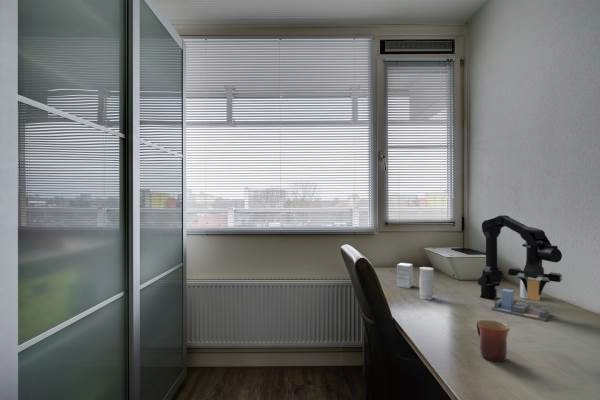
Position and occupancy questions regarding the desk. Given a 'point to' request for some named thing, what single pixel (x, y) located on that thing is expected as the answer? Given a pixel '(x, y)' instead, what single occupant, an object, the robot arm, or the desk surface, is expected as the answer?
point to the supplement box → (404, 275)
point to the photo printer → (522, 289)
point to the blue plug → (507, 299)
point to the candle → (426, 283)
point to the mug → (493, 339)
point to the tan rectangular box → (533, 289)
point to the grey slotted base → (523, 311)
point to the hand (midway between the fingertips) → (533, 294)
